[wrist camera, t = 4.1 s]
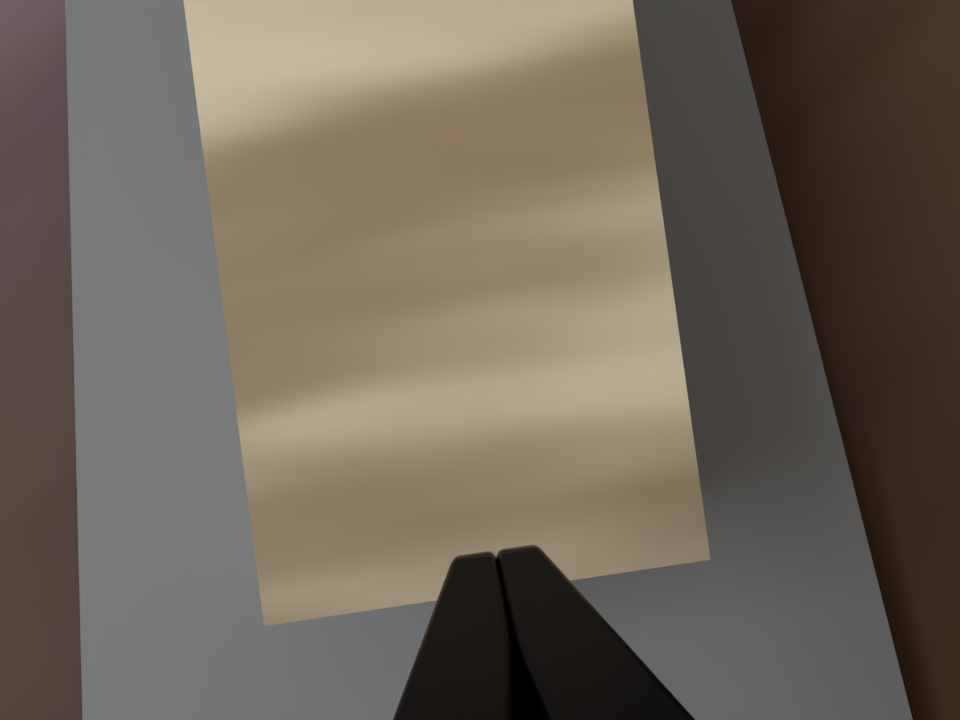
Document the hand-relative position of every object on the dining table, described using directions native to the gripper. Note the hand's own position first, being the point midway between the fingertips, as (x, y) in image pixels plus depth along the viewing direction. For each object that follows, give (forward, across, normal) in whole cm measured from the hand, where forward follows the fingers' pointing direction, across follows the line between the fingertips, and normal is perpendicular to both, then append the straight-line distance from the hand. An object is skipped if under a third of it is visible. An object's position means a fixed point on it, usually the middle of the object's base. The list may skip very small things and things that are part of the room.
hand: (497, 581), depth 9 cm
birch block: (+4, 0, +3) cm, 5 cm away
